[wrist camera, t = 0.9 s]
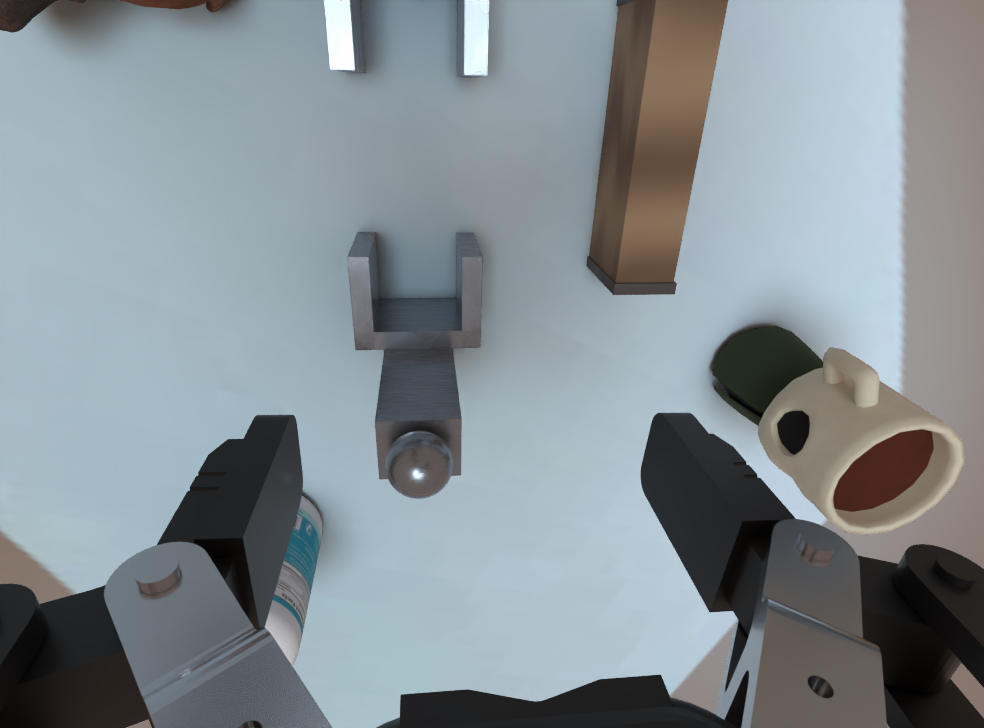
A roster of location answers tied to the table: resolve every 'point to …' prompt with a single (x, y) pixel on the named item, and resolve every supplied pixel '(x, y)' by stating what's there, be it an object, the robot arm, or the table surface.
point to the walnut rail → (652, 139)
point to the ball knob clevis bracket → (415, 303)
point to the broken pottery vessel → (14, 3)
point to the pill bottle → (295, 581)
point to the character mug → (840, 431)
